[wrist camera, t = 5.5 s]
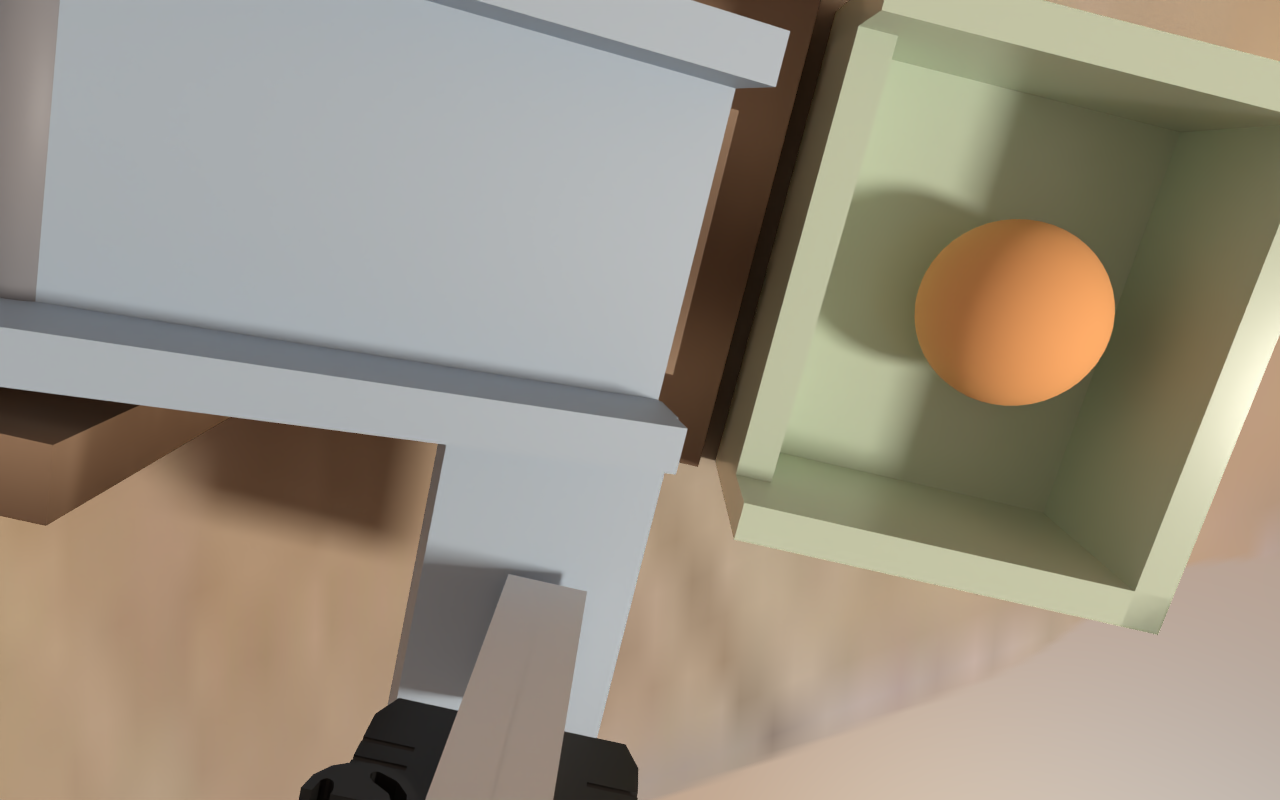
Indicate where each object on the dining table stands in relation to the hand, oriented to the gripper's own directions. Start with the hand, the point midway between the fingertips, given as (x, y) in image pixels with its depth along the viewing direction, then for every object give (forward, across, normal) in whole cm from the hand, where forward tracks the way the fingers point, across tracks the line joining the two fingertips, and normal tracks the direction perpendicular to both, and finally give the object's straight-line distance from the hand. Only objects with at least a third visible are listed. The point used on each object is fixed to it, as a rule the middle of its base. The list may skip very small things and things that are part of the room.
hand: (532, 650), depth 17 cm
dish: (+7, +8, +8) cm, 13 cm away
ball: (+5, +8, +8) cm, 12 cm away
